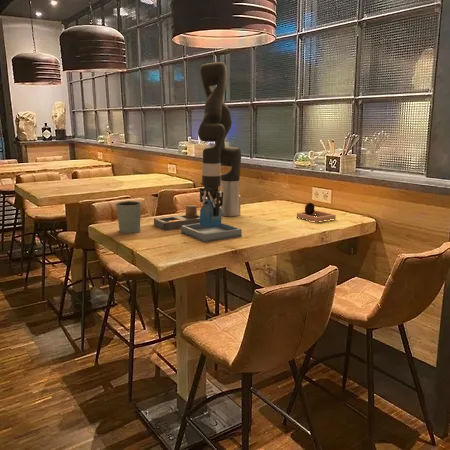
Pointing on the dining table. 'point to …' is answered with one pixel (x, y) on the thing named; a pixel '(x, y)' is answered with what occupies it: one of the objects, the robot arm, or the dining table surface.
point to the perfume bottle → (209, 215)
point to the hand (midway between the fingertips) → (210, 214)
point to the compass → (310, 210)
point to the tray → (211, 232)
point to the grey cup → (129, 216)
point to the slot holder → (175, 222)
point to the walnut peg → (191, 211)
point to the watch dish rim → (323, 217)
